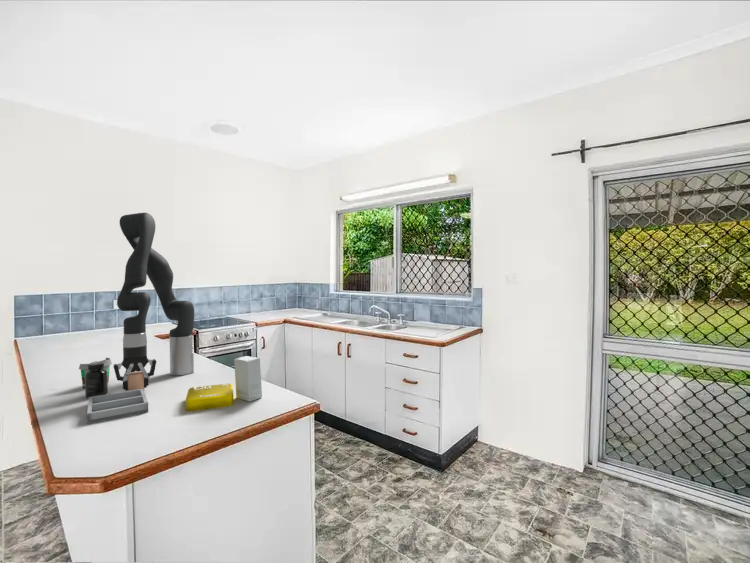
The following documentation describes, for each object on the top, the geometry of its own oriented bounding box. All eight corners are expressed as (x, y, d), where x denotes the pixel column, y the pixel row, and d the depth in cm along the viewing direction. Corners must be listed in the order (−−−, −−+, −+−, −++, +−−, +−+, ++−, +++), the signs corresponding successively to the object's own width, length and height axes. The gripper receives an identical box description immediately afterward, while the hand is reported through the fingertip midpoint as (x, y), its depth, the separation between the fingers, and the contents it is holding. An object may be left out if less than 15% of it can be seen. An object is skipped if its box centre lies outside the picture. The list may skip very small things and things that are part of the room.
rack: (143, 396, 138) (143, 388, 138) (148, 411, 122) (148, 402, 122) (89, 405, 128) (88, 397, 128) (87, 423, 113) (87, 414, 113)
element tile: (185, 413, 122) (185, 399, 122) (188, 399, 136) (188, 386, 136) (233, 407, 128) (233, 393, 128) (232, 393, 142) (232, 381, 142)
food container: (92, 390, 145) (91, 365, 145) (79, 389, 146) (78, 364, 146) (119, 381, 157) (119, 357, 157) (107, 380, 158) (107, 357, 158)
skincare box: (262, 397, 136) (261, 357, 136) (248, 402, 131) (247, 361, 131) (248, 393, 141) (247, 354, 140) (234, 397, 136) (233, 357, 136)
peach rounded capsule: (143, 390, 144) (143, 370, 144) (145, 394, 140) (144, 373, 140) (126, 393, 141) (126, 372, 141) (127, 397, 137) (127, 375, 136)
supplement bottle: (112, 393, 141) (111, 362, 141) (93, 399, 135) (92, 366, 134) (99, 391, 143) (99, 360, 143) (80, 397, 137) (80, 365, 137)
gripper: (155, 341, 147) (156, 383, 148) (111, 345, 139) (112, 390, 139) (158, 344, 141) (158, 387, 142) (112, 348, 133) (112, 395, 133)
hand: (135, 388), depth 140 cm, fingers closed on peach rounded capsule, 5 cm apart
